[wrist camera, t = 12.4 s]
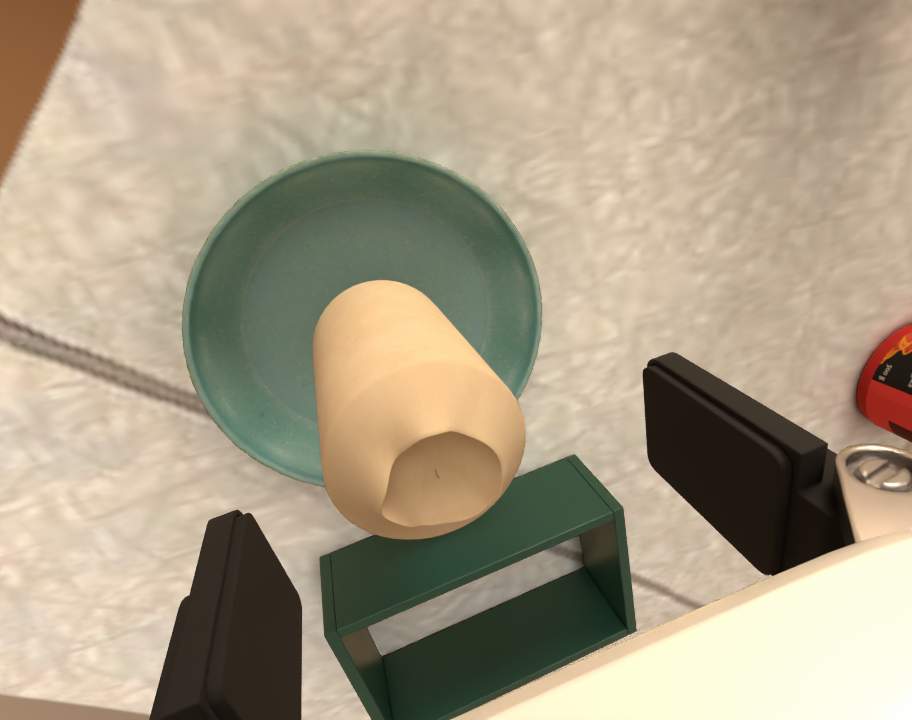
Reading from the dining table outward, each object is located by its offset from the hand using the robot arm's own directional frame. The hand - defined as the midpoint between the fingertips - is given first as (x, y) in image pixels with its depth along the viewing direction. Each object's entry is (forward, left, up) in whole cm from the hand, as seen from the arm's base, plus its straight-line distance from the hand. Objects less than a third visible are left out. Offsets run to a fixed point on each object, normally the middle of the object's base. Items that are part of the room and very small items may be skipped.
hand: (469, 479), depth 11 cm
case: (+17, 0, -13) cm, 22 cm away
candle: (0, -1, -11) cm, 11 cm away
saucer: (0, -1, -13) cm, 13 cm away
